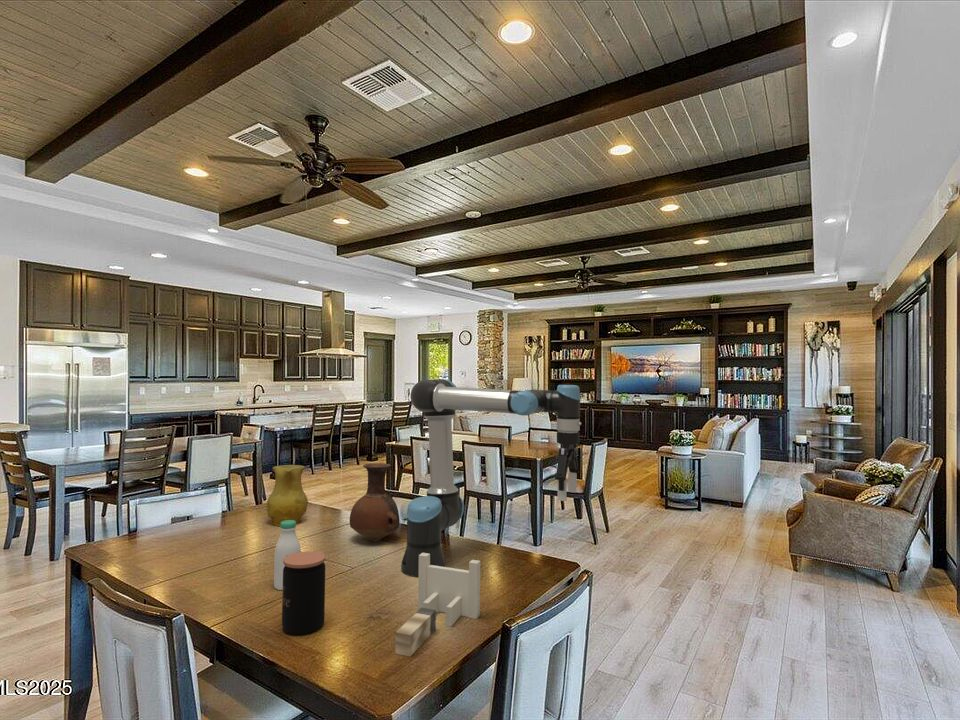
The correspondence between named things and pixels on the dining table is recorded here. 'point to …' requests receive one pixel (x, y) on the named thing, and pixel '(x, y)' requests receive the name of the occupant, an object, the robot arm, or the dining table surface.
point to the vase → (375, 506)
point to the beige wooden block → (415, 631)
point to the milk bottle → (284, 550)
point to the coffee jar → (303, 592)
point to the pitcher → (287, 495)
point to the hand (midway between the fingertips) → (567, 496)
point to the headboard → (449, 589)
